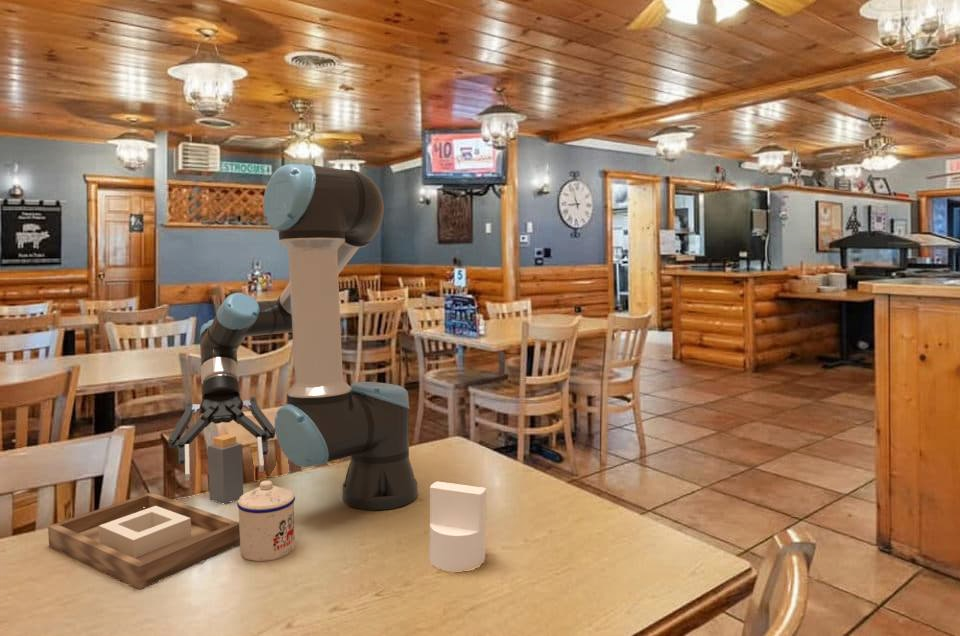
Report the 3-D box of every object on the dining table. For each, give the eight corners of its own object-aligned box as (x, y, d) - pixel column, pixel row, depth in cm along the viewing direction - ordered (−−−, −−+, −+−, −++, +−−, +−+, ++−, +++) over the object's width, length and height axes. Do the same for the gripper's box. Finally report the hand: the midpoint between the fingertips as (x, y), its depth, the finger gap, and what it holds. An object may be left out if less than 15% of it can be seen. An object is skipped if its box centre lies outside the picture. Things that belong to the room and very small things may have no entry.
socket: (191, 534, 111) (190, 518, 111) (134, 558, 103) (133, 540, 102) (156, 521, 116) (155, 505, 116) (99, 542, 108) (98, 525, 107)
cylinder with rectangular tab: (492, 551, 108) (493, 481, 107) (474, 576, 100) (474, 501, 99) (442, 542, 111) (442, 475, 110) (420, 567, 103) (420, 493, 102)
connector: (243, 497, 131) (241, 436, 129) (224, 504, 127) (222, 441, 126) (228, 492, 133) (226, 432, 132) (209, 499, 129) (207, 438, 128)
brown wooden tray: (241, 543, 110) (241, 523, 110) (139, 589, 95) (138, 566, 95) (151, 510, 124) (150, 492, 124) (49, 546, 109) (47, 526, 108)
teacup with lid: (283, 564, 103) (281, 493, 102) (228, 561, 104) (226, 490, 103) (310, 532, 115) (309, 468, 114) (261, 529, 116) (259, 466, 115)
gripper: (279, 388, 148) (289, 473, 136) (157, 397, 138) (156, 489, 126) (281, 369, 143) (292, 456, 130) (154, 377, 133) (153, 472, 121)
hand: (225, 473), depth 128 cm, fingers open, 13 cm apart
